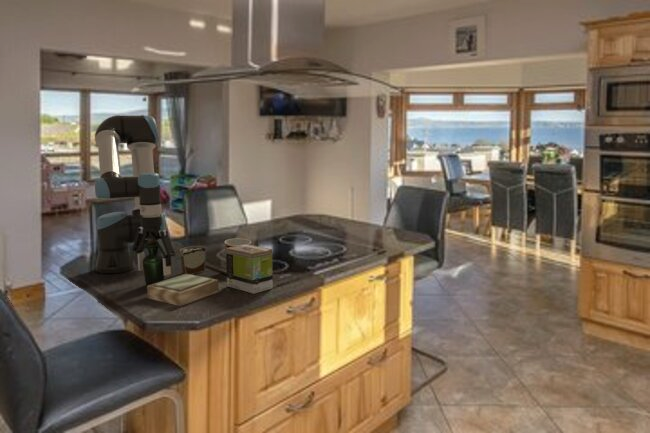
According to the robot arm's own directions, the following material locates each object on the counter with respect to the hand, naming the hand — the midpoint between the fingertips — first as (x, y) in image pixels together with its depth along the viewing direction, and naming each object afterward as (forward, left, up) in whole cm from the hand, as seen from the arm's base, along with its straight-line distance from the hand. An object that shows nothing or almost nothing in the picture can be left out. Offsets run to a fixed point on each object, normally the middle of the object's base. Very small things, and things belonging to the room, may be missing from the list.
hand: (154, 272), depth 203 cm
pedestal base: (+18, -3, -5) cm, 19 cm away
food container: (-2, +20, -5) cm, 21 cm away
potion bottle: (0, 0, -5) cm, 5 cm away
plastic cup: (+12, +33, -5) cm, 36 cm away
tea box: (+32, +16, -5) cm, 36 cm away
